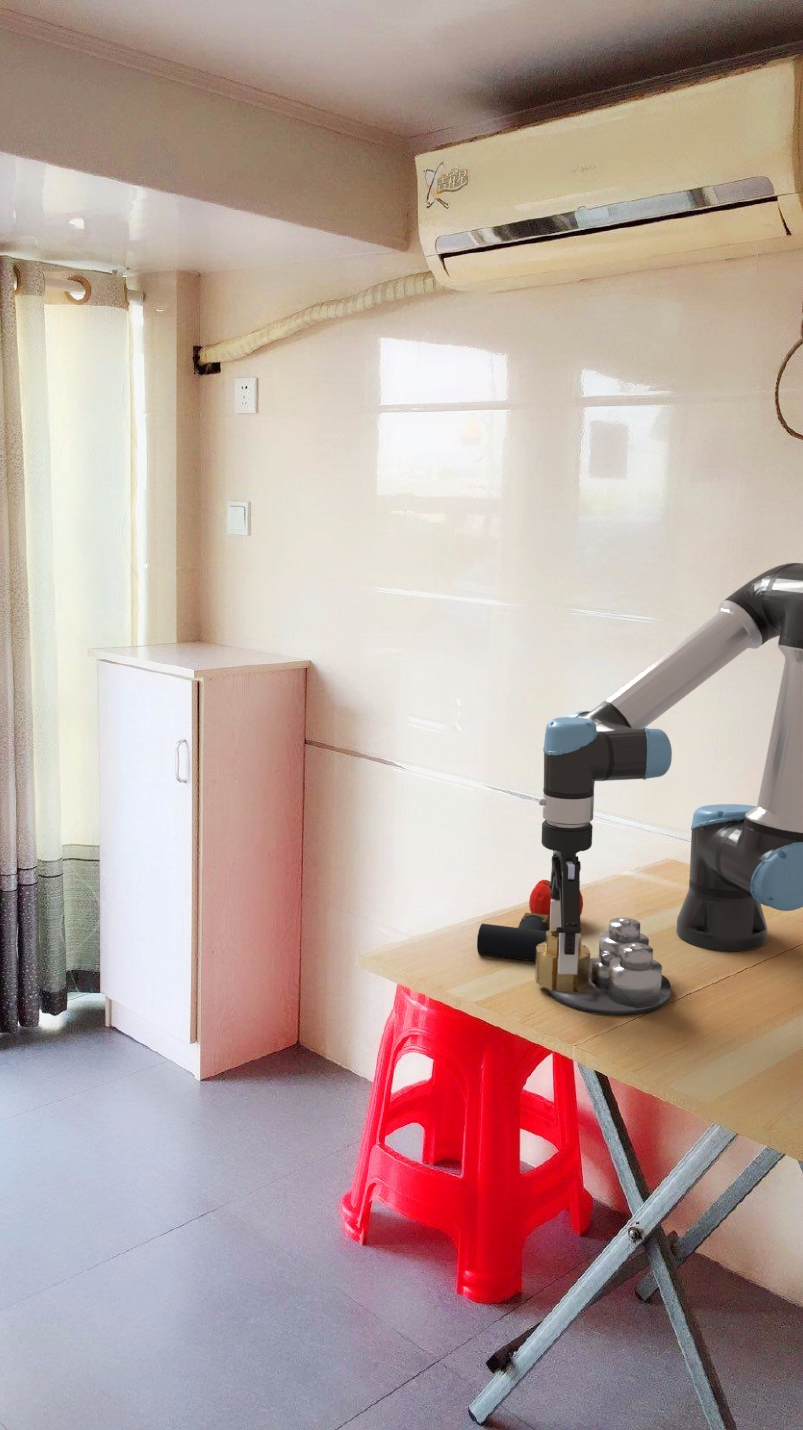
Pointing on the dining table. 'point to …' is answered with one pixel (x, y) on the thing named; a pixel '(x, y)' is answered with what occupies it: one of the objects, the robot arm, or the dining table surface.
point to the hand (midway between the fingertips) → (562, 956)
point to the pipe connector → (514, 938)
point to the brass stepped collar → (549, 965)
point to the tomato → (544, 899)
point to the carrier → (621, 975)
